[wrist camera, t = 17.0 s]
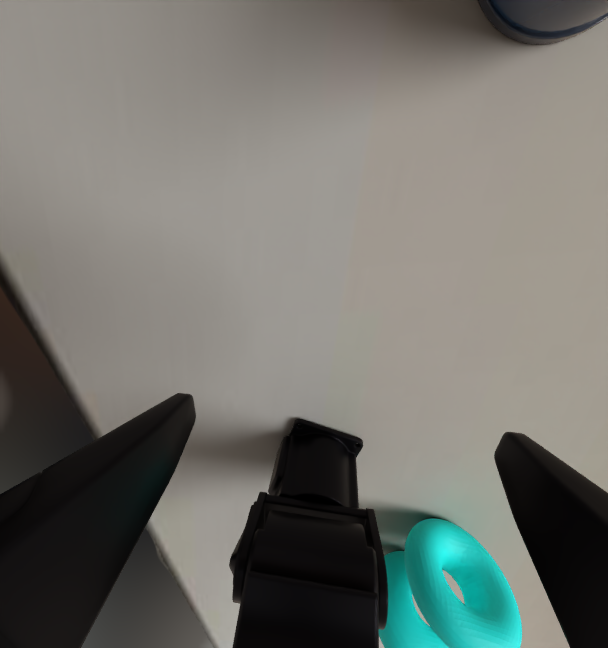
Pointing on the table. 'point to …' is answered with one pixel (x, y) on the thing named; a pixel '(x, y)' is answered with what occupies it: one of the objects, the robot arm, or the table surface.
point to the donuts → (448, 593)
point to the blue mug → (544, 18)
